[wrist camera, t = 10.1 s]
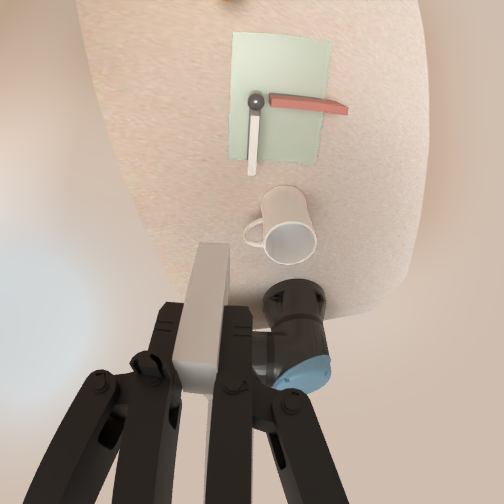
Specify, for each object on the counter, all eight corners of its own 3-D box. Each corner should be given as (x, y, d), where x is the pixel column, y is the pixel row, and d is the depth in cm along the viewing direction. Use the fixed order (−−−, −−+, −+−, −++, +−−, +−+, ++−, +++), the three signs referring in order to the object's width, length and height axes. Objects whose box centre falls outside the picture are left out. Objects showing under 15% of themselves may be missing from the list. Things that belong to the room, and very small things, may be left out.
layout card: (315, 164, 45) (316, 165, 45) (228, 158, 45) (228, 159, 45) (331, 42, 32) (331, 42, 32) (233, 32, 32) (233, 31, 31)
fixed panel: (255, 160, 45) (255, 175, 39) (248, 160, 45) (247, 175, 39) (258, 108, 39) (259, 116, 34) (251, 108, 39) (250, 115, 34)
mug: (247, 231, 54) (246, 272, 45) (238, 191, 49) (234, 228, 39) (308, 222, 53) (319, 262, 43) (304, 182, 48) (317, 216, 38)
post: (262, 103, 39) (264, 111, 33) (248, 103, 39) (247, 110, 33) (263, 90, 38) (265, 95, 31) (249, 90, 38) (247, 94, 31)
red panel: (268, 101, 38) (271, 107, 33) (269, 94, 38) (271, 98, 32) (334, 108, 38) (347, 115, 33) (334, 101, 38) (348, 107, 32)
